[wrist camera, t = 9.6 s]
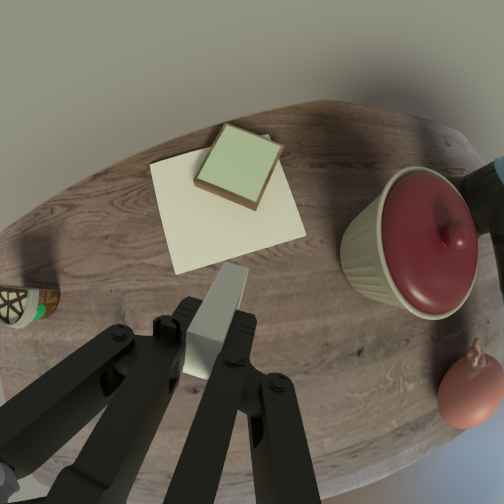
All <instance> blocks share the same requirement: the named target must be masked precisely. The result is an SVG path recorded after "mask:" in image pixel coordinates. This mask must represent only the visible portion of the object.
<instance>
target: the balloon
mask: <svg viewBox="0 0 504 504" xmlns="http://www.w3.org/2000/svg"><path fill="white" fill-rule="evenodd" d="M503 394H504V372H503V369H502V367H501V365H500V364H499V362H498V361H497V360H496V359H495V358H493V357H492V356H490V355H487V354H484V353H483V351H482V350H481V347H480V344H479V339H478V338H475V339H474V342H473V347H470V348H469V350H468V351H467V356H465V357H463V358H461V359H460V360H458V361H457V362H456V363H454V364H453V365H452V366H451V367H450V368H449V370H448V371H447V372H446V374H445V375H444V377H443V379H442V381H441V384H440V386H439V390H438V397H437V402H438V409H439V412H440V414H441V416H442V418H443V419H444V420H445V421H446V422H447V423H448V424H449V425H451V426H453V427H456V428H461V429H466V428H471V427H475V426H477V425H479V424H481V423H483V422H484V421H486V420H487V419H488V418H489V417H490V416H491V415H492V414H493V413H494V412H495V410H496V409H497V407H498V406H499V404H500V402H501V400H502V397H503Z"/></svg>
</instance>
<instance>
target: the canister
mask: <svg viewBox="0 0 504 504" xmlns="http://www.w3.org/2000/svg"><path fill="white" fill-rule="evenodd" d="M340 260H341V262H340V263H341V266H342V270H343V272H344V276H345V277H346V278H347V281H348V282H349V283H350V284H351V286H352V287H353V288H354V289H355V290H356V291H357V292H358V293H361V294H362V295H363V296H365V297H368V298H370V299H372V300H375V301H379V302H382V303H385V304H389V305H393V306H397V307H401V308H404V309H407V310H409V311H410V312H411V313H413V314H414V315H416V316H418V317H421V318H423V319H428V320H439V319H443V318H446V317H448V316H450V315H452V314H453V313H454V312H456V311H457V310H458V309H459V308H460V307H461V306H462V305H463V303H464V302H465V300H466V299H467V297H468V296H469V294H470V292H471V289H472V287H473V284H474V281H475V277H476V273H477V267H478V240H477V234H476V229H475V225H474V222H473V219H472V216H471V214H470V211H469V209H468V207H467V205H466V203H465V201H464V199H463V198H462V196H461V195H460V193H459V192H458V191H457V189H456V188H455V187H454V186H453V185H452V184H451V183H450V182H449V181H448V180H447V179H446V178H445V177H443V176H442V175H441V174H439V173H437V172H436V171H434V170H431V169H429V168H425V167H419V166H413V167H408V168H405V169H402V170H400V171H399V172H397V173H396V174H395V175H393V176H392V177H391V178H390V180H389V181H388V182H387V184H386V185H385V187H384V189H383V191H382V193H381V194H380V195H379V196H378V197H377V198H376V199H375V200H374V201H373V202H371V203H370V204H369V205H368V206H367V207H366V208H365V209H364V210H363V211H362V212H361V213H360V214H359V215H358V216H357V217H356V218H355V219H354V220H353V221H352V222H351V223H350V224H349V226H348V227H347V229H346V231H345V233H344V235H343V238H342V241H341V247H340Z"/></svg>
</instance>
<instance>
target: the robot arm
mask: <svg viewBox="0 0 504 504" xmlns="http://www.w3.org/2000/svg"><path fill="white" fill-rule="evenodd" d="M446 179H447V180H448V181H449V182H450V183H451V184H452V185H453V186H454V187H455V188H456V189H457V191H458V192H459V193H460V195H461V196H462V198H463V199H464V201H465V203H466V205H467V207H468V209H469V211H470V214H471V216H472V219H473V222H474V225H475V229H476V234H477V239H478V238H479V237H480V236H481V235H483V234H486V233H489V232H490V235H491V239H492V243H493V248H494V253H495V258H496V263H497V269H498V275H499V282H500V290H501V293H502V298H503V303H504V156H503V157H501V158H496V159H495V160H494V161H493V162H491V163H489V164H488V165H486V166H484V167H482V168H480V169H478V170H476V171H474V172H472V173H470V174H468V175H466V176H464V177H446ZM248 271H249V268H246V267H243V266H239V265H236V264H232V263H228V262H224V264H223V266H222V268H221V270H220V271H219V273H218V275H217V277H216V278H215V280H214V282H213V284H212V286H211V288H210V289H209V291H208V293H207V295H206V297H205V298H204V300H199V299H196V298H193V297H190V296H188V297H187V298H185V299H183V300H182V301H181V302H180V304H179V305H178V307H177V308H176V310H175V311H174V313H173V314H172V316H169V315H163V316H159V317H157V318H155V319H154V320H153V335H152V336H142V335H134V332H133V330H132V329H131V328H130V327H128V326H126V325H123V324H116V325H112V326H110V327H108V328H107V329H105V330H104V331H103V332H101V333H100V334H98V335H97V336H96V337H94V338H93V339H91V340H90V341H89V342H87V343H86V344H84V345H83V346H82V347H80V348H79V349H77V350H76V351H75V352H73V353H72V354H71V355H69V356H68V357H66V358H65V359H64V360H62V361H61V362H60V363H58V364H57V365H56V366H54V367H53V368H51V369H50V370H49V371H47V372H46V373H45V374H43V375H42V376H41V377H39V378H38V379H37V380H35V381H34V382H33V383H31V384H30V385H29V386H27V387H26V388H25V389H23V390H22V391H21V392H19V393H18V394H17V395H15V396H14V397H13V398H11V399H10V400H9V401H7V402H6V403H5V404H4V405H2V406H1V407H0V504H126V501H127V497H128V495H129V493H130V490H131V488H132V486H133V483H134V481H135V479H136V476H137V474H138V472H139V470H140V467H141V465H142V463H143V460H144V458H145V456H146V454H147V451H148V449H149V447H150V445H151V442H152V440H153V438H154V436H155V433H156V431H157V429H158V427H159V424H160V422H161V420H162V418H163V416H164V413H165V411H166V409H167V407H168V404H169V402H170V400H171V398H172V396H173V393H174V391H175V389H176V387H177V385H178V382H179V379H180V373H181V371H182V368H183V372H184V373H187V374H190V375H193V376H196V377H199V378H203V379H206V380H208V382H207V385H206V388H205V390H204V393H203V396H202V399H201V401H200V404H199V407H198V409H197V412H196V415H195V418H194V420H193V423H192V426H191V428H190V431H189V434H188V437H187V439H186V442H185V445H184V447H183V450H182V453H181V456H180V458H179V461H178V464H177V466H176V469H175V472H174V474H173V477H172V480H171V483H170V485H169V488H168V491H167V493H166V496H165V499H164V501H163V504H213V503H214V500H215V496H216V492H217V489H218V485H219V481H220V477H221V474H222V470H223V466H224V462H225V458H226V454H227V451H228V447H229V443H230V439H231V435H232V431H233V427H234V423H235V419H236V415H237V410H240V411H241V412H243V413H245V414H247V418H248V429H249V439H250V449H251V459H252V469H253V478H254V487H255V496H256V504H321V500H320V496H319V491H318V487H317V483H316V478H315V474H314V470H313V465H312V461H311V457H310V452H309V448H308V444H307V439H306V435H305V431H304V427H303V423H302V418H301V414H300V410H299V406H298V402H297V397H296V393H295V389H294V385H293V383H292V381H291V380H290V379H289V378H288V377H287V376H285V375H283V374H281V373H269V374H267V375H265V374H263V373H261V372H259V371H258V370H256V369H255V368H254V367H253V366H252V364H251V363H250V359H249V357H250V351H251V347H252V343H253V338H254V334H255V329H256V325H257V320H256V317H255V315H254V314H250V313H246V312H243V311H239V310H238V309H239V306H240V303H241V299H242V295H243V291H244V287H245V283H246V279H247V275H248ZM107 405H108V406H107ZM106 406H107V408H106V409H105V411H104V413H103V414H102V416H101V418H100V419H99V421H98V423H97V424H96V426H95V428H94V429H93V431H92V433H91V434H90V436H89V438H88V439H87V441H86V443H85V445H84V446H83V448H82V450H81V452H80V453H79V455H78V457H77V459H76V460H75V462H74V463H73V464H72V465H70V466H67V467H65V468H63V469H62V470H61V472H60V473H59V474H58V476H57V478H56V480H55V482H54V483H53V485H52V487H51V489H50V491H49V493H48V494H47V496H45V497H40V498H36V499H31V500H25V501H19V502H12V503H7V501H8V498H9V497H10V496H11V495H12V494H13V493H16V492H18V491H19V490H20V486H19V483H18V482H17V480H18V479H21V478H24V477H26V476H28V475H30V474H31V473H33V472H34V471H35V470H37V469H38V468H39V467H40V466H41V465H42V464H44V463H45V462H46V461H47V460H48V459H49V458H50V457H51V456H52V455H54V454H55V453H56V452H57V451H58V450H59V449H60V448H61V447H62V446H63V445H65V444H66V443H67V442H68V441H69V440H70V439H71V438H72V437H73V436H74V435H75V434H77V433H78V432H79V431H80V430H81V429H82V428H83V427H84V426H85V425H86V424H87V423H88V422H90V421H91V420H92V419H93V418H94V417H95V416H96V415H97V414H98V413H99V412H100V411H101V410H102V409H104V408H105V407H106Z"/></svg>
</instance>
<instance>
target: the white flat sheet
mask: <svg viewBox="0 0 504 504" xmlns="http://www.w3.org/2000/svg"><path fill="white" fill-rule="evenodd" d="M261 136H262V137H265V138H267V139H270V136H269V134H266V135H261ZM270 140H271V139H270ZM210 148H211V147H208V148H204V149H200V150H197V151H193V152H189V153H186V154H182V155H179V156H175V157H172V158H169V159H166V160H162V161H159V162H156V163H153V164H150V168H151V173H152V178H153V183H154V188H155V193H156V197H157V202H158V206H159V211H160V215H161V219H162V224H163V228H164V232H165V236H166V240H167V244H168V248H169V251H170V255H171V259H172V263H173V266H174V270H175V273H176V275H177V274H181V273H184V272H187V271H191V270H194V269H197V268H201V267H204V266H207V265H211V264H214V263H217V262H220V261H224V260H227V259H230V258H234V257H237V256H240V255H244V254H247V253H250V252H254V251H257V250H260V249H264V248H267V247H270V246H274V245H277V244H280V243H283V242H287V241H290V240H293V239H297V238H300V237H303V236H306V232H305V230H304V227H303V224H302V221H301V218H300V215H299V212H298V210H297V207H296V204H295V201H294V198H293V196H292V193H291V190H290V188H289V185H288V182H287V180H286V177H285V174H284V172H283V169H282V166H281V164H280V161H279V160H278V162H277V164H276V166H275V169H274V171H273V173H272V175H271V178H270V180H269V182H268V184H267V187H266V189H265V191H264V194H263V196H262V198H261V200H260V203H259V205H258V207H257V210H256V211H253V210H251V209H249V208H246V207H244V206H242V205H239V204H237V203H234V202H232V201H230V200H227V199H225V198H222V197H220V196H217V195H215V194H213V193H210V192H208V191H205V190H203V189H200V188H198V187H195V186H194V182H193V179H194V177H195V175H196V173H197V171H198V170H199V168H200V166H201V164H202V162H203V160H204V159H205V157H206V155H207V153H208V151H209V150H210Z"/></svg>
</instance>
